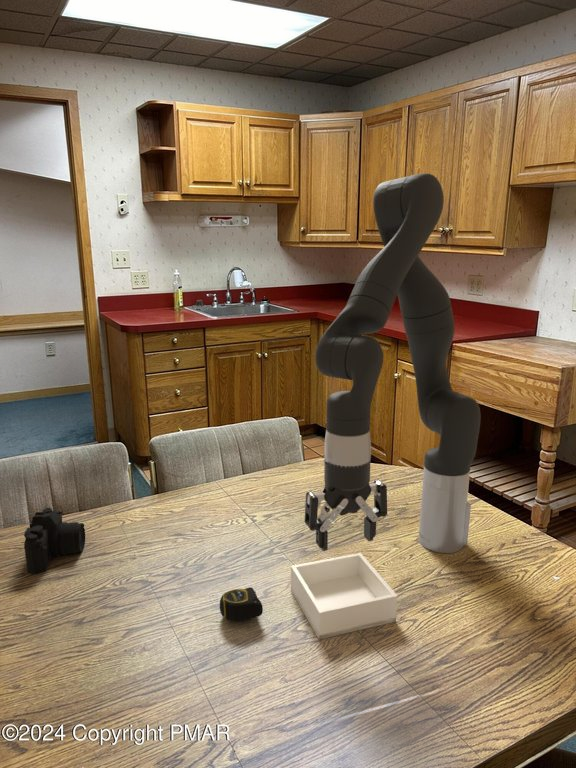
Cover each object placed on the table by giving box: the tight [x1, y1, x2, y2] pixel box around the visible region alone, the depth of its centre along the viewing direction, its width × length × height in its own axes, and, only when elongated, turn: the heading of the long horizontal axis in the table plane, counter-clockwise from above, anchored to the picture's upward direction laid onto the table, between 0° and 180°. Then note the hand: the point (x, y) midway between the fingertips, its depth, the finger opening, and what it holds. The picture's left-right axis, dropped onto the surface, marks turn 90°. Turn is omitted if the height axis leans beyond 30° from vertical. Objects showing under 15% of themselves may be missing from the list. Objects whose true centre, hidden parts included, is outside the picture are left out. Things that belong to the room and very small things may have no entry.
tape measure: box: [219, 587, 264, 623], centre depth 97 cm, size 7×7×4 cm
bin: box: [290, 552, 398, 640], centre depth 100 cm, size 14×14×5 cm
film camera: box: [23, 507, 86, 575], centre depth 115 cm, size 15×10×9 cm, turn 7°
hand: (345, 543), depth 97 cm, fingers open, 8 cm apart
